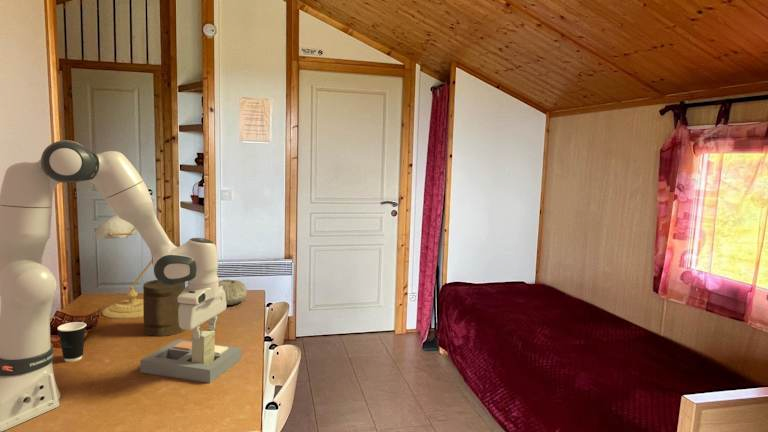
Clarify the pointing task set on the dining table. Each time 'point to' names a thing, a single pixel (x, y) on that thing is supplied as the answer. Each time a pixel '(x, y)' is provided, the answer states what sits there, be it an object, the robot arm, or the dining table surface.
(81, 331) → the dixie cup
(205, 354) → the skincare box
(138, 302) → the desk lamp
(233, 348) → the socket plate
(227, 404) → the dining table surface
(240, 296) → the decorative shell
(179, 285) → the brown metal canister
